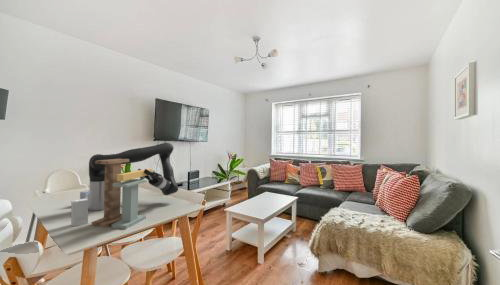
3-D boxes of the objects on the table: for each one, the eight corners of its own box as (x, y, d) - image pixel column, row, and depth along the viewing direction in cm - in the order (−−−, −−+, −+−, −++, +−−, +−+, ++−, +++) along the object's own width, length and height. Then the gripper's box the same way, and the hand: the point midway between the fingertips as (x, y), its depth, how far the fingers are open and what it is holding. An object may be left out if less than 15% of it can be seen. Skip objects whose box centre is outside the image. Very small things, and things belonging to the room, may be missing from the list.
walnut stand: (91, 225, 101) (92, 160, 101) (114, 215, 114) (115, 158, 114) (108, 227, 99) (110, 161, 99) (130, 216, 113) (131, 159, 113)
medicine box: (85, 206, 129) (85, 192, 129) (79, 205, 130) (79, 192, 130) (96, 202, 137) (97, 189, 137) (91, 202, 138) (91, 189, 138)
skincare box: (86, 221, 106) (86, 197, 106) (88, 223, 103) (88, 199, 103) (70, 224, 101) (71, 200, 101) (72, 227, 98) (72, 202, 98)
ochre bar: (116, 180, 98) (116, 174, 98) (147, 173, 120) (147, 168, 120) (123, 181, 98) (123, 174, 98) (152, 174, 119) (152, 169, 119)
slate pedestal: (111, 227, 99) (112, 184, 99) (132, 217, 112) (133, 179, 112) (126, 229, 97) (127, 185, 97) (145, 218, 111) (146, 179, 111)
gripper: (149, 174, 130) (132, 163, 116) (169, 175, 128) (155, 164, 113) (145, 186, 127) (127, 176, 112) (166, 187, 124) (150, 177, 110)
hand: (141, 170), depth 113 cm, fingers closed on ochre bar, 3 cm apart
